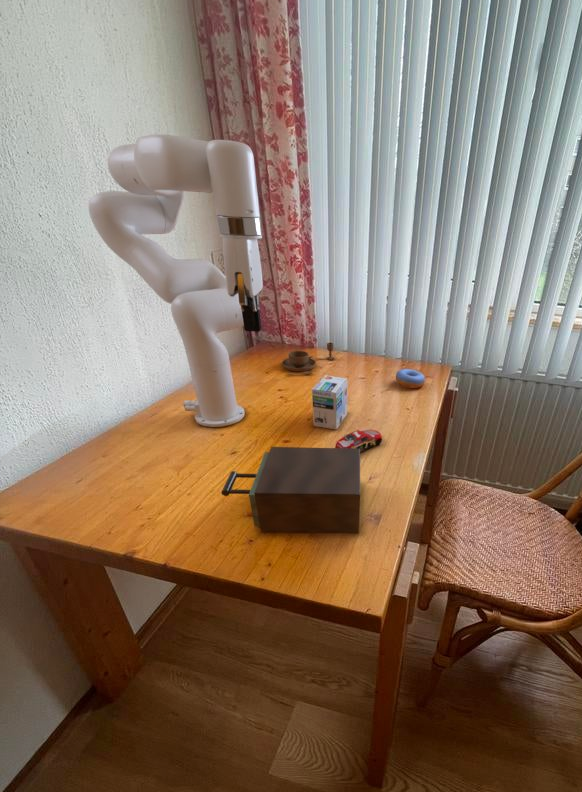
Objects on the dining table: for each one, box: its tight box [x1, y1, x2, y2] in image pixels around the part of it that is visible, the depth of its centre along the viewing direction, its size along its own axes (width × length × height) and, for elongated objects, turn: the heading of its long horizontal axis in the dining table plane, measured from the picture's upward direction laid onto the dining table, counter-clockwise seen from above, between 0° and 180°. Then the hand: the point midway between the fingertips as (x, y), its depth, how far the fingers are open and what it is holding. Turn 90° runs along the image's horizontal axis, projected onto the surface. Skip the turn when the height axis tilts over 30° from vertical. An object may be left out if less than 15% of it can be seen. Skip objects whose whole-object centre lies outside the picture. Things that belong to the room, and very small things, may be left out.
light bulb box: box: [311, 375, 348, 430], centre depth 104 cm, size 11×7×11 cm, turn 168°
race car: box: [334, 429, 383, 453], centre depth 95 cm, size 13×5×4 cm, turn 133°
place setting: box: [281, 342, 335, 376], centre depth 138 cm, size 18×20×6 cm
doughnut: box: [395, 368, 426, 389], centre depth 130 cm, size 10×10×5 cm
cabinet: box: [254, 446, 361, 534], centre depth 74 cm, size 18×15×9 cm
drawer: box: [221, 451, 269, 528], centre depth 73 cm, size 23×14×7 cm, turn 93°
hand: (253, 330), depth 81 cm, fingers closed
